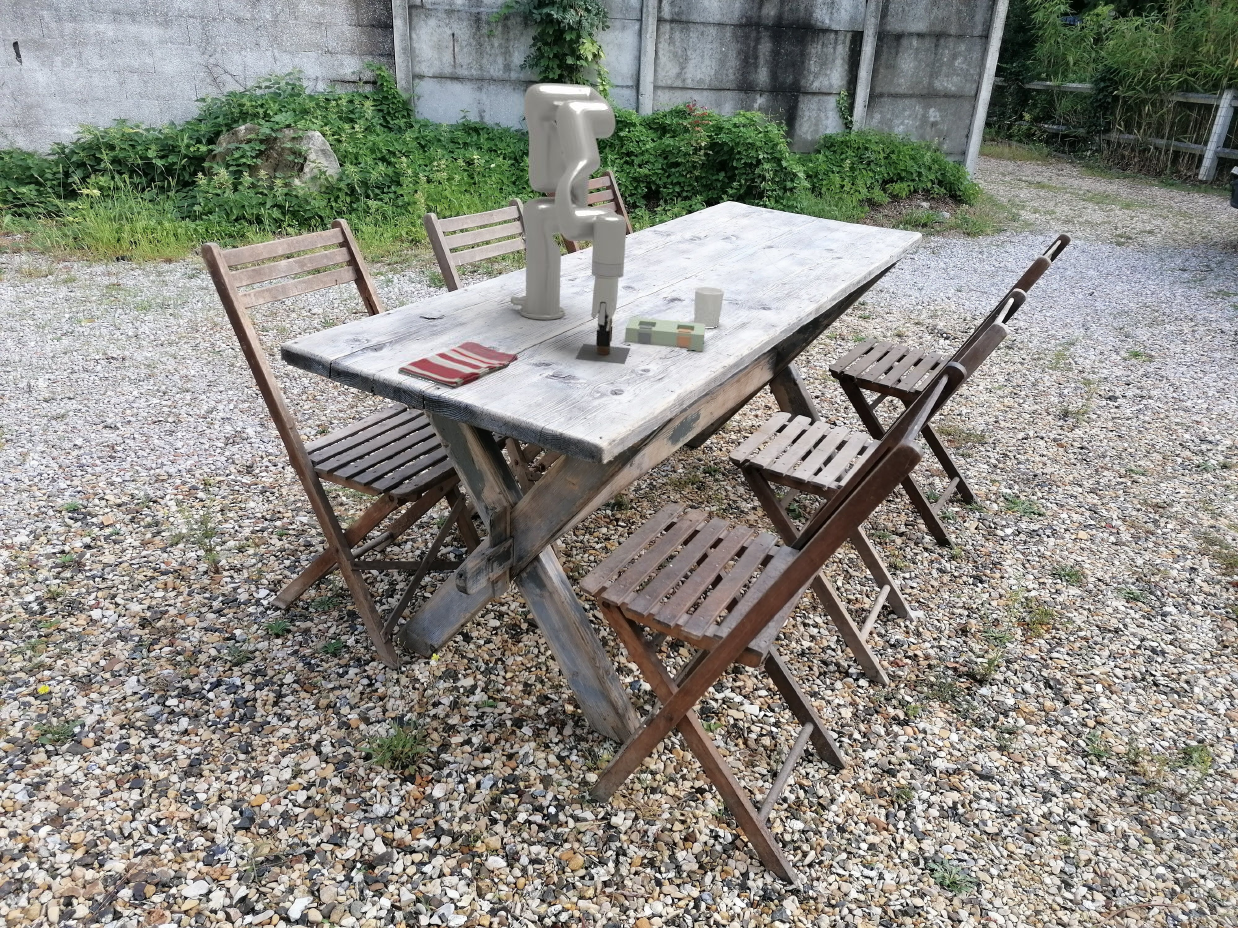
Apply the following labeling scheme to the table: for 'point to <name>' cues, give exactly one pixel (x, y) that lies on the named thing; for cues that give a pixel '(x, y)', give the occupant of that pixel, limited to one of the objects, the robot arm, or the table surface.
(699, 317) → the white cup
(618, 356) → the mat
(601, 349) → the dowel
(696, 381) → the table surface
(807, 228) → the table surface
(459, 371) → the dish towel
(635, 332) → the socket block
